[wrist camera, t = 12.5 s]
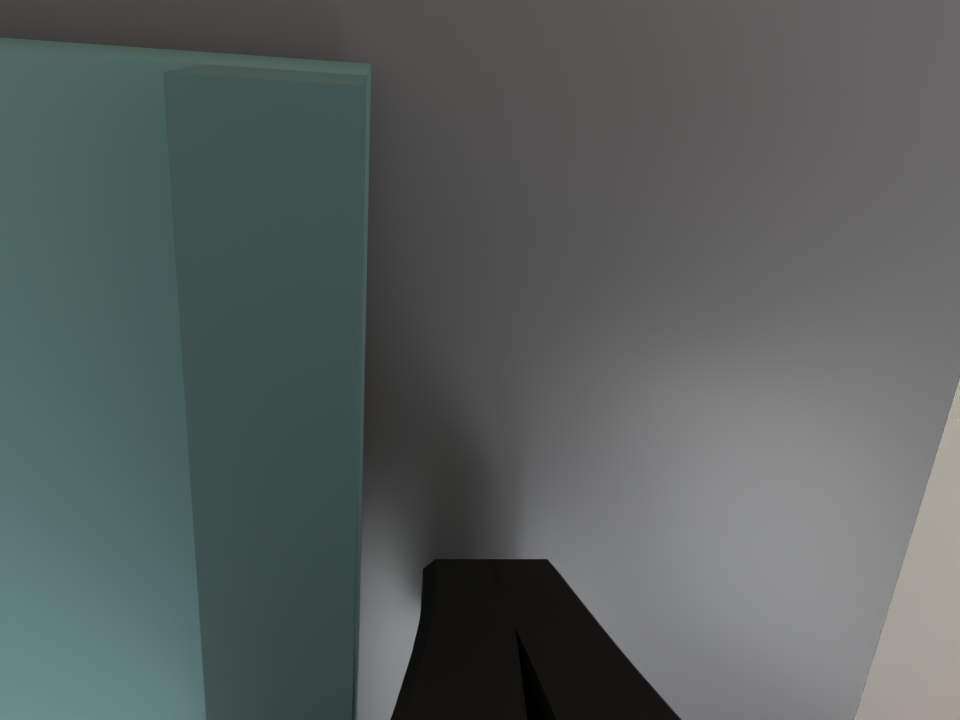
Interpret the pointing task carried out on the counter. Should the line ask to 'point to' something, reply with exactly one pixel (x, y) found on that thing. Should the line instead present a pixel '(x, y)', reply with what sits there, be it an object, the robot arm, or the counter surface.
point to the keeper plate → (181, 383)
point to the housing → (640, 310)
